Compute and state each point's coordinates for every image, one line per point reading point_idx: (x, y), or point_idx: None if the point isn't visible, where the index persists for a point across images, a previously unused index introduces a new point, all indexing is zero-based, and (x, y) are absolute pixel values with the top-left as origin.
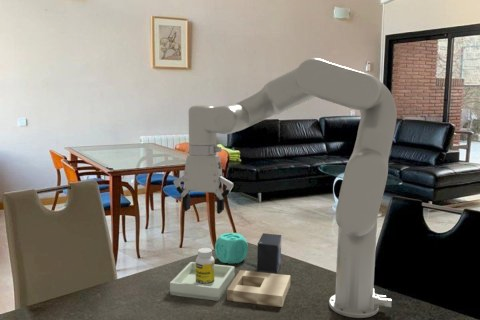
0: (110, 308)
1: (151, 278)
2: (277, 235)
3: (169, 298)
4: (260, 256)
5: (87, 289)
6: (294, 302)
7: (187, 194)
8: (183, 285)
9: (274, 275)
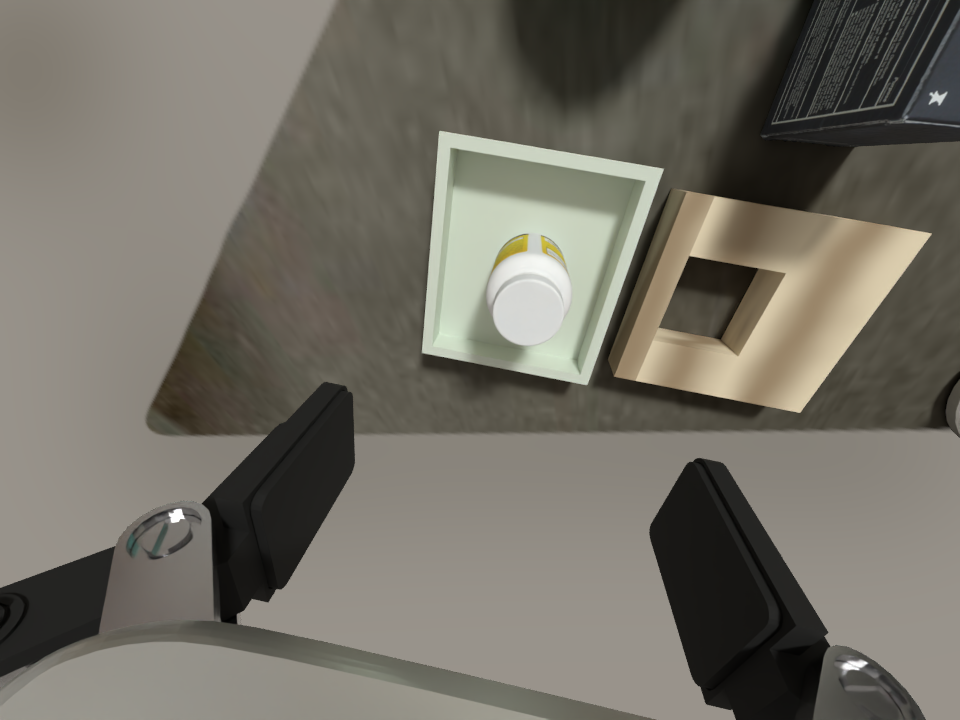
0: None
1: (324, 216)
2: None
3: None
4: (850, 132)
5: (195, 316)
6: None
7: (237, 590)
8: (468, 360)
9: (844, 241)
